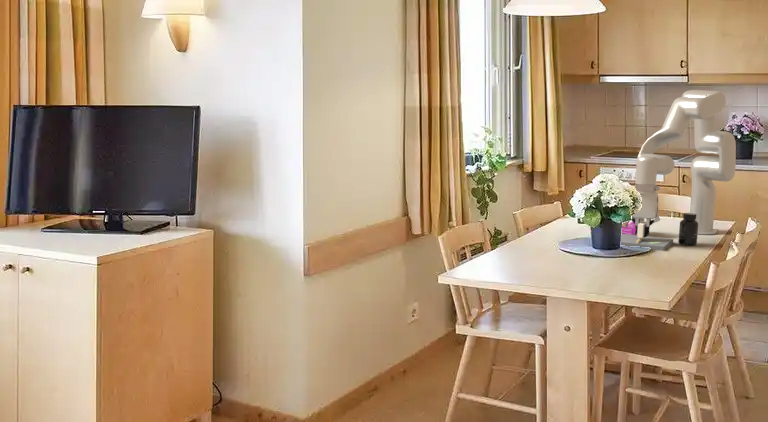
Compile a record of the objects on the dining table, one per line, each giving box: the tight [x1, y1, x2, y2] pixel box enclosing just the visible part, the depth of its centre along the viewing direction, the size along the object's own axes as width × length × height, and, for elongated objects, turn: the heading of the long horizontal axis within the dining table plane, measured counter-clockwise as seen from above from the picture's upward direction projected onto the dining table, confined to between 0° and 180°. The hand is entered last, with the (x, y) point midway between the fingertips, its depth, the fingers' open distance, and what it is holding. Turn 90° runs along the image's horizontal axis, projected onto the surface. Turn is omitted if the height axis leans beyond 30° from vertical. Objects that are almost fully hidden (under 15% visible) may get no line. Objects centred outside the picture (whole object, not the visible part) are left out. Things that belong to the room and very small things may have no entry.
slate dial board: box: [621, 234, 674, 251], centre depth 344 cm, size 18×20×2 cm
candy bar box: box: [622, 217, 645, 235], centre depth 362 cm, size 11×5×16 cm, turn 34°
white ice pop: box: [636, 220, 646, 242], centre depth 341 cm, size 12×2×6 cm, turn 151°
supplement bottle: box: [678, 212, 699, 247], centre depth 344 cm, size 7×7×12 cm
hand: (642, 235), depth 343 cm, fingers closed on white ice pop, 2 cm apart
